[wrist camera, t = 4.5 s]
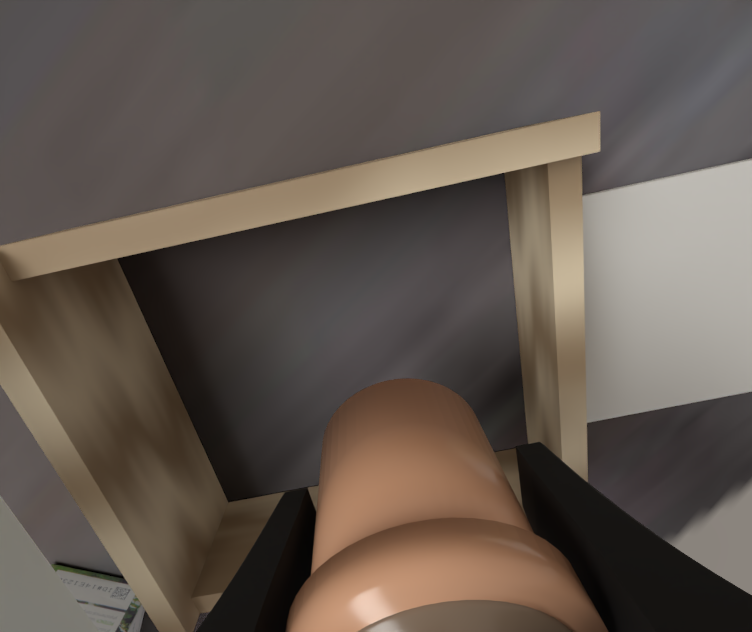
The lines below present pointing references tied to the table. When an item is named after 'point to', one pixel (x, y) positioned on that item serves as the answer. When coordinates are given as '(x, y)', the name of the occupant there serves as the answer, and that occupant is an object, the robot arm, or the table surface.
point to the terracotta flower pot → (427, 528)
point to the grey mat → (668, 291)
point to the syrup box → (104, 599)
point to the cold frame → (158, 392)
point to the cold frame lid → (33, 586)
